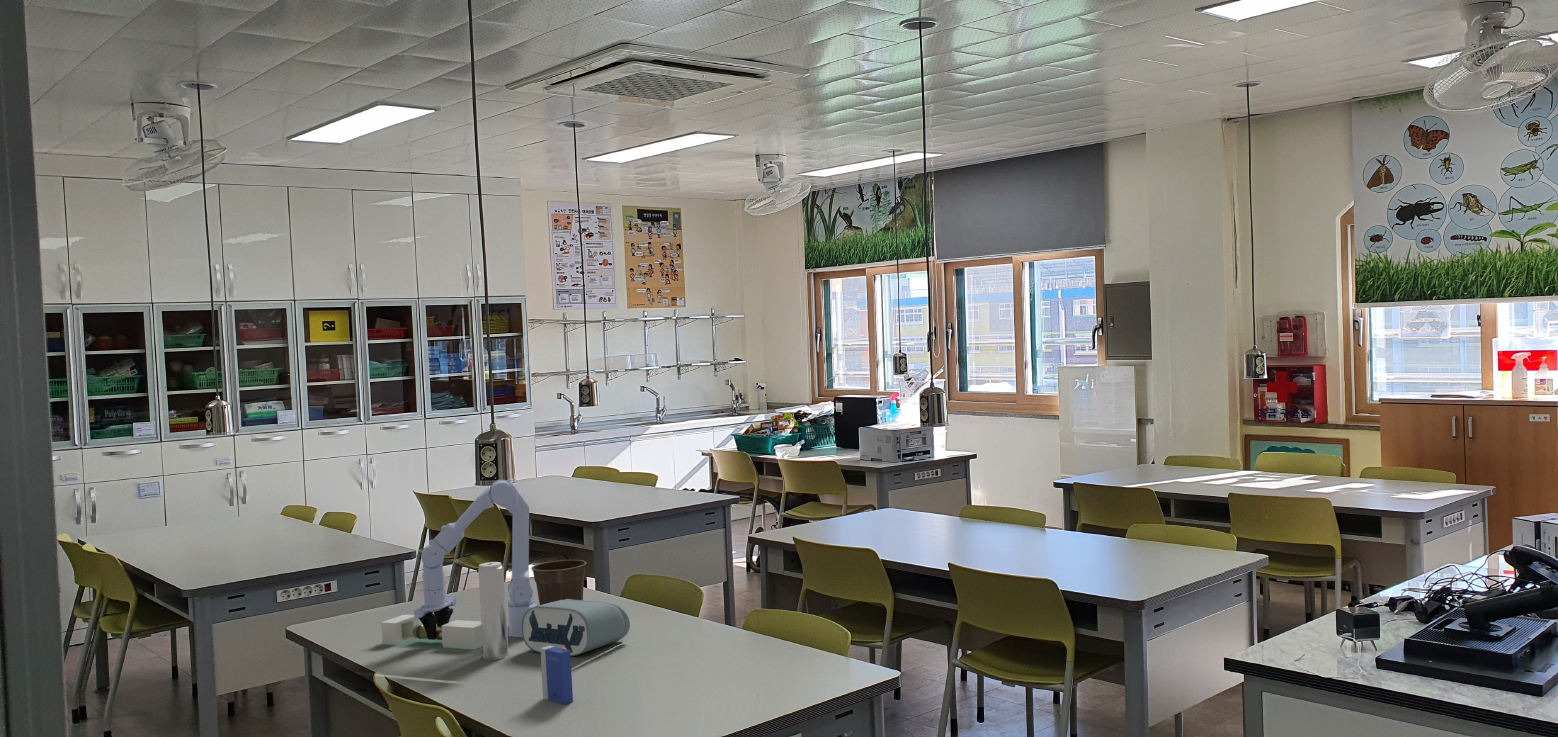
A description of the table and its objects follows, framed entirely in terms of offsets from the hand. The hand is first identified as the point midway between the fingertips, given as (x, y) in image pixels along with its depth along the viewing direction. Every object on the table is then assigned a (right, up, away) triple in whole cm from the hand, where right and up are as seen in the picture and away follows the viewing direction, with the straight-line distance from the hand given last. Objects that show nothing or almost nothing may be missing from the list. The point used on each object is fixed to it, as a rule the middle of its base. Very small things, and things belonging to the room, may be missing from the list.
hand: (437, 637), depth 304 cm
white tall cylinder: (+21, -2, -17) cm, 27 cm away
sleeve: (+9, -1, -4) cm, 10 cm away
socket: (-12, -2, +5) cm, 13 cm away
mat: (0, -2, 0) cm, 2 cm away
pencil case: (+41, -1, -10) cm, 42 cm away
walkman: (+44, -1, -54) cm, 70 cm away
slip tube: (+3, -1, -1) cm, 4 cm away
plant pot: (+30, 0, +24) cm, 38 cm away
